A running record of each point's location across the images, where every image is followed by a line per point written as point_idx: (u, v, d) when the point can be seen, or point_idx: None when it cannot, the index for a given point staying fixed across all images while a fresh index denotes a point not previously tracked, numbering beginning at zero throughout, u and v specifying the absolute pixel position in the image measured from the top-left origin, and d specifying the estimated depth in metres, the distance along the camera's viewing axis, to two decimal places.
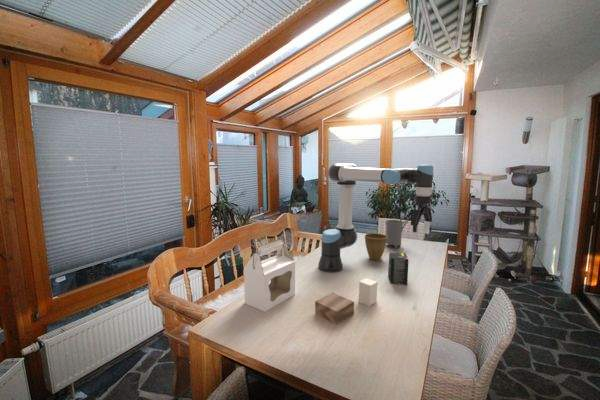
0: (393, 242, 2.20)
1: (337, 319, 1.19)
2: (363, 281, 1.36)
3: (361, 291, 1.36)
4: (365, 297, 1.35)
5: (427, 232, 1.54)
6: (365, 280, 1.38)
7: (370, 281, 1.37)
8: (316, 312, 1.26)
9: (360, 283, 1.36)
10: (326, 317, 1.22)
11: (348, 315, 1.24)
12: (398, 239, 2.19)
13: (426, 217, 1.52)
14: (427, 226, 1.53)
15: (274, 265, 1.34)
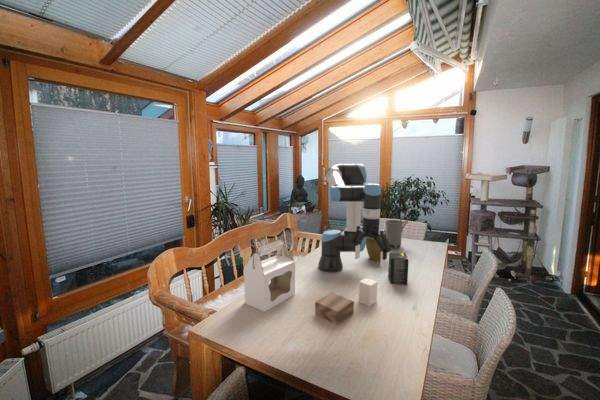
0: (393, 242, 2.20)
1: (338, 319, 1.19)
2: (363, 281, 1.36)
3: (361, 291, 1.36)
4: (365, 297, 1.35)
5: None
6: (365, 280, 1.38)
7: (370, 281, 1.37)
8: (316, 313, 1.26)
9: (360, 283, 1.36)
10: (327, 317, 1.22)
11: (348, 315, 1.24)
12: (398, 239, 2.19)
13: None
14: None
15: (274, 265, 1.34)
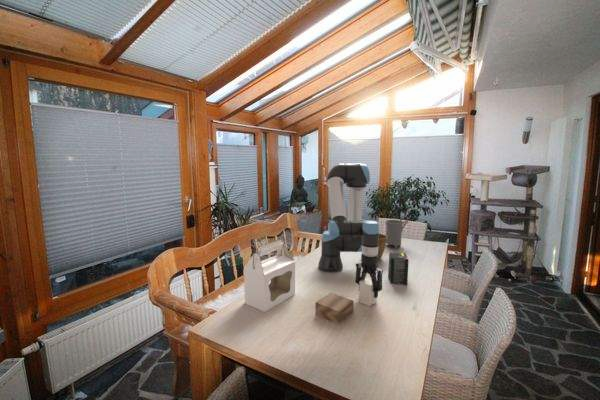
0: (393, 242, 2.20)
1: (339, 319, 1.19)
2: (363, 281, 1.36)
3: (361, 291, 1.36)
4: (365, 297, 1.35)
5: None
6: (365, 280, 1.38)
7: (370, 281, 1.37)
8: (316, 313, 1.25)
9: (360, 283, 1.36)
10: (327, 318, 1.22)
11: (348, 314, 1.25)
12: (398, 239, 2.19)
13: None
14: None
15: (274, 265, 1.34)
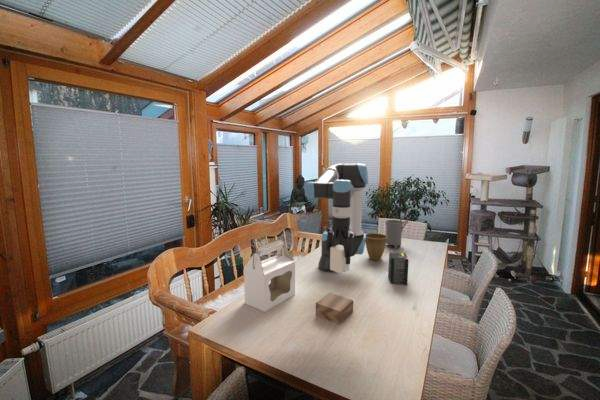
0: (393, 242, 2.20)
1: (340, 319, 1.19)
2: (334, 247, 1.24)
3: (332, 258, 1.23)
4: (336, 264, 1.22)
5: None
6: (337, 246, 1.25)
7: (342, 247, 1.24)
8: (317, 314, 1.25)
9: (331, 249, 1.23)
10: (328, 318, 1.22)
11: (349, 314, 1.25)
12: (398, 239, 2.19)
13: None
14: None
15: (274, 265, 1.34)
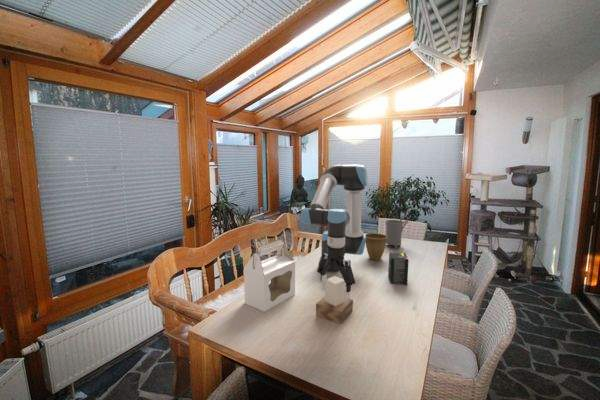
0: (393, 242, 2.20)
1: (341, 319, 1.19)
2: (330, 279, 1.25)
3: (327, 290, 1.24)
4: (331, 296, 1.23)
5: None
6: (332, 278, 1.26)
7: (337, 279, 1.25)
8: (317, 314, 1.24)
9: (326, 281, 1.24)
10: (329, 318, 1.21)
11: (349, 313, 1.25)
12: (398, 239, 2.19)
13: None
14: None
15: (274, 265, 1.34)
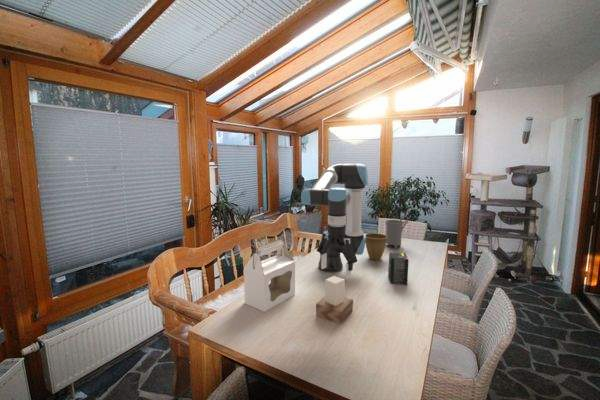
0: (393, 242, 2.20)
1: (342, 319, 1.19)
2: (329, 279, 1.25)
3: (326, 290, 1.25)
4: (331, 296, 1.23)
5: None
6: (332, 278, 1.26)
7: (337, 279, 1.25)
8: (317, 314, 1.24)
9: (326, 281, 1.25)
10: (329, 318, 1.21)
11: (349, 313, 1.25)
12: (398, 239, 2.19)
13: None
14: None
15: (274, 265, 1.34)
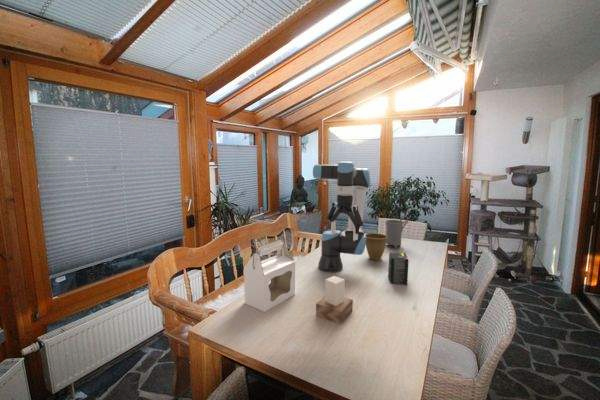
0: (393, 242, 2.20)
1: (342, 319, 1.19)
2: (329, 279, 1.25)
3: (327, 290, 1.25)
4: (331, 296, 1.23)
5: None
6: (332, 278, 1.26)
7: (337, 279, 1.25)
8: (317, 314, 1.24)
9: (326, 281, 1.24)
10: (329, 318, 1.21)
11: (349, 313, 1.25)
12: (398, 239, 2.19)
13: None
14: None
15: (274, 265, 1.34)
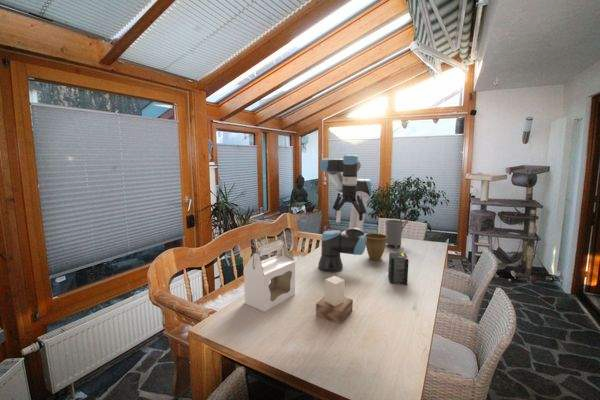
0: (393, 242, 2.20)
1: (342, 319, 1.19)
2: (329, 279, 1.25)
3: (326, 290, 1.25)
4: (330, 296, 1.23)
5: None
6: (332, 278, 1.26)
7: (337, 279, 1.25)
8: (317, 314, 1.24)
9: (326, 281, 1.25)
10: (329, 318, 1.21)
11: (349, 313, 1.25)
12: (398, 239, 2.19)
13: None
14: None
15: (274, 265, 1.34)
